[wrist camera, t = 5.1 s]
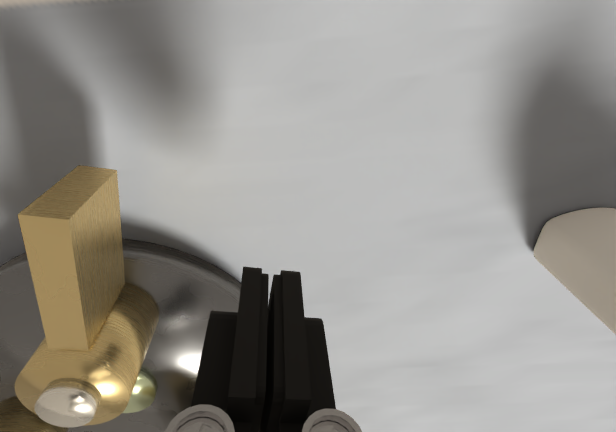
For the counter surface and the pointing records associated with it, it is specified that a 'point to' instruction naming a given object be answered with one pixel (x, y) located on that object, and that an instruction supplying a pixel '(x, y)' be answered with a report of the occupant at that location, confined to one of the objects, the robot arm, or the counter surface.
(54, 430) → the knob
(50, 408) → the knob
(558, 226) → the eye dropper bottle
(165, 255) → the base
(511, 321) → the counter surface
